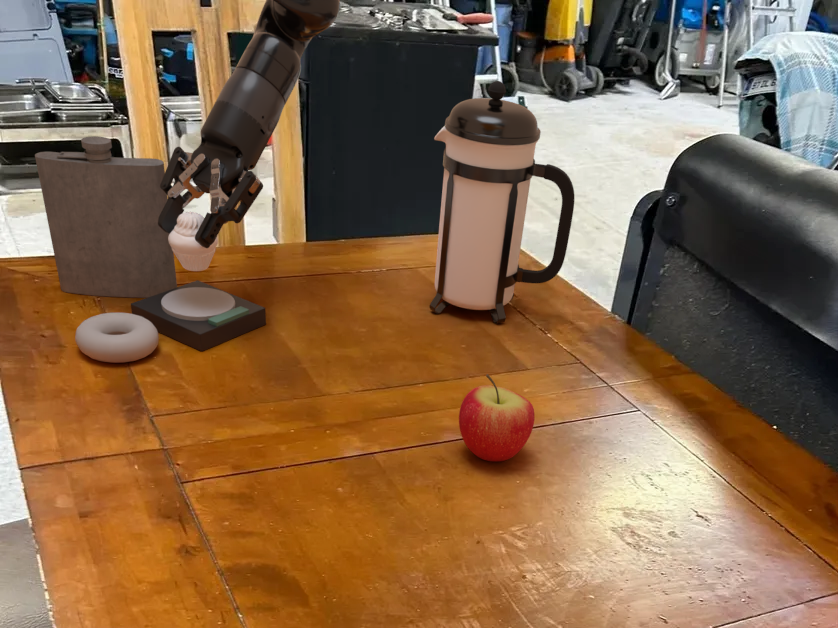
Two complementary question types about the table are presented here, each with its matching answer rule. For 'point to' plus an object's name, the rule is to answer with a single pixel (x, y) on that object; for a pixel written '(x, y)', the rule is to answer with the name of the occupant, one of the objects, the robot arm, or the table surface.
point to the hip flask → (106, 221)
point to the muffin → (190, 243)
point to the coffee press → (490, 204)
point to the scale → (200, 314)
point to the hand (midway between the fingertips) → (182, 236)
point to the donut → (116, 337)
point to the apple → (495, 422)
